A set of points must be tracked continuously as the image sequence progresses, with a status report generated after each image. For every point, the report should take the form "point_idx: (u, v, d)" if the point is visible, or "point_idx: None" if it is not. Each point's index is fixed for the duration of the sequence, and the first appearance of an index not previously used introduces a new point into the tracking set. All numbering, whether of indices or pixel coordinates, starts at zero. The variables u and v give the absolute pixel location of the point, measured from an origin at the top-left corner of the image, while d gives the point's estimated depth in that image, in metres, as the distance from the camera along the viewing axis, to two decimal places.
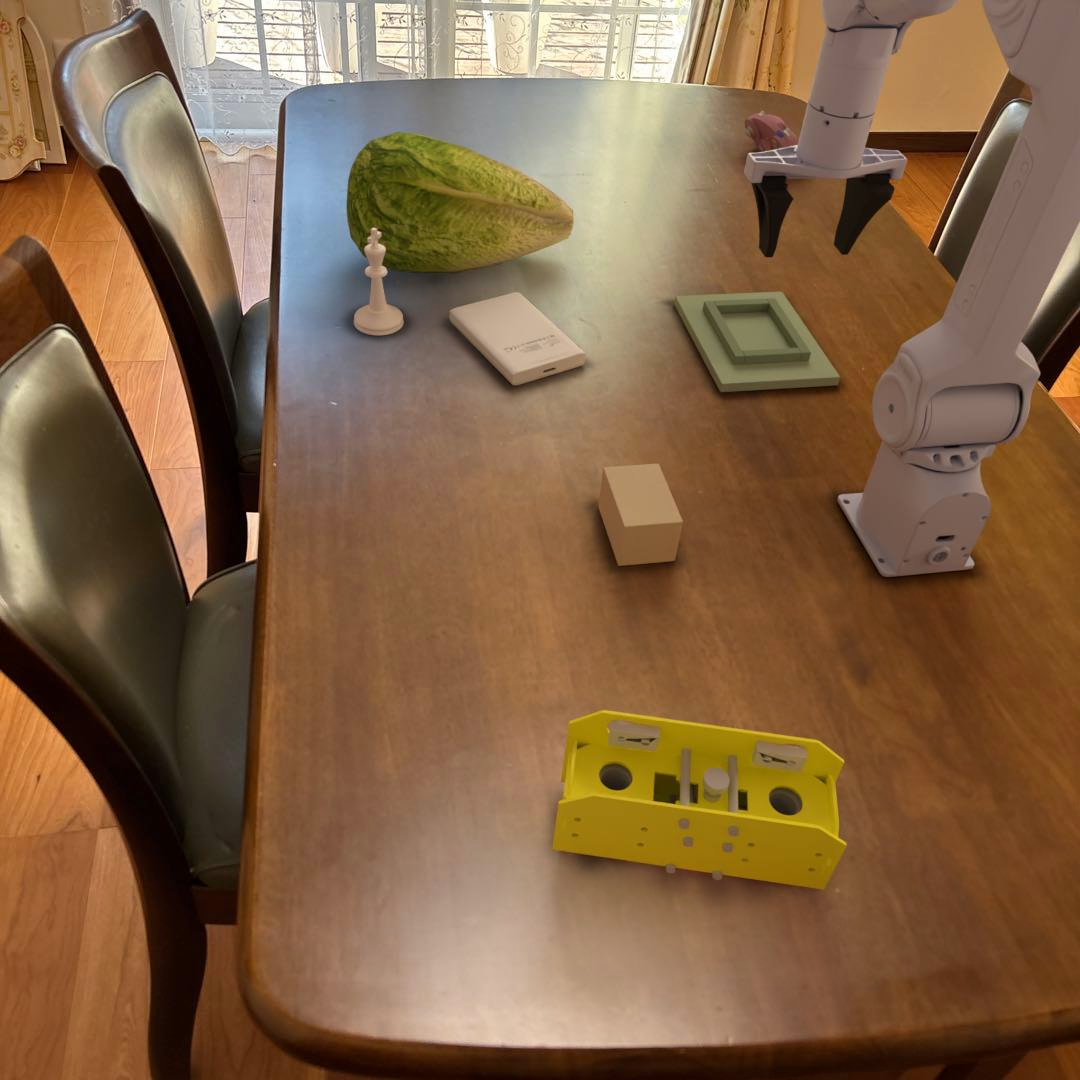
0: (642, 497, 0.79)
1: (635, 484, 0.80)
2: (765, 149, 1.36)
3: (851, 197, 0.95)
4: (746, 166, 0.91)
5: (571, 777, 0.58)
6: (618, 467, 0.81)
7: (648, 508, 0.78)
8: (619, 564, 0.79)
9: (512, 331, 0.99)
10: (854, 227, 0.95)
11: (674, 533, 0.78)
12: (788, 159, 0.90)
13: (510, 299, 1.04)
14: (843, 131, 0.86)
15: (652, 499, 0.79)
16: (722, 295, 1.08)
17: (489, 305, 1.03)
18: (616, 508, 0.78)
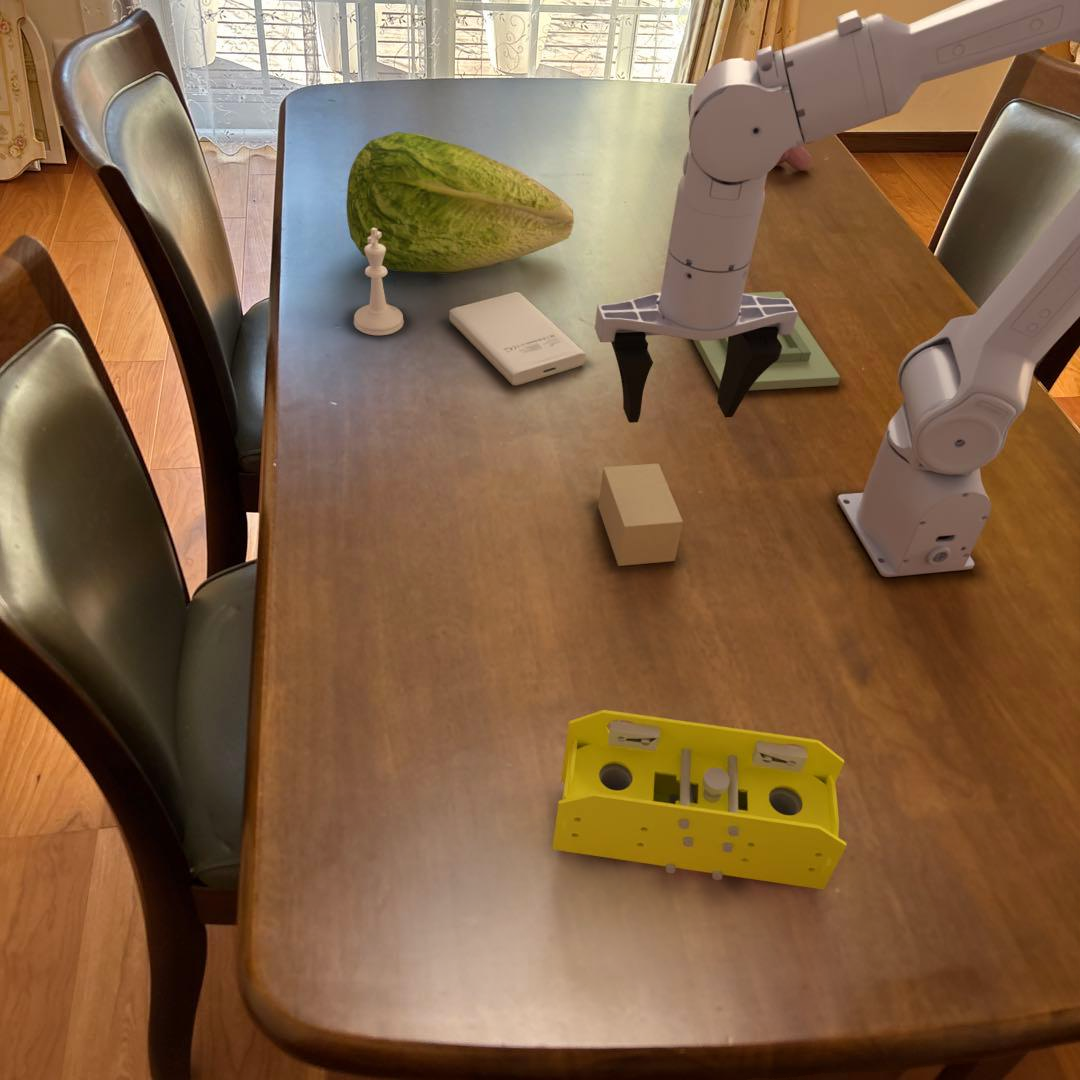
0: (642, 497, 0.79)
1: (635, 484, 0.80)
2: None
3: (733, 351, 0.77)
4: (596, 320, 0.73)
5: (571, 777, 0.58)
6: (618, 467, 0.81)
7: (648, 508, 0.78)
8: (619, 564, 0.79)
9: (512, 331, 0.99)
10: (737, 388, 0.77)
11: (674, 533, 0.78)
12: (647, 313, 0.72)
13: (510, 299, 1.04)
14: (709, 286, 0.69)
15: (652, 499, 0.79)
16: None
17: (489, 305, 1.03)
18: (616, 508, 0.78)
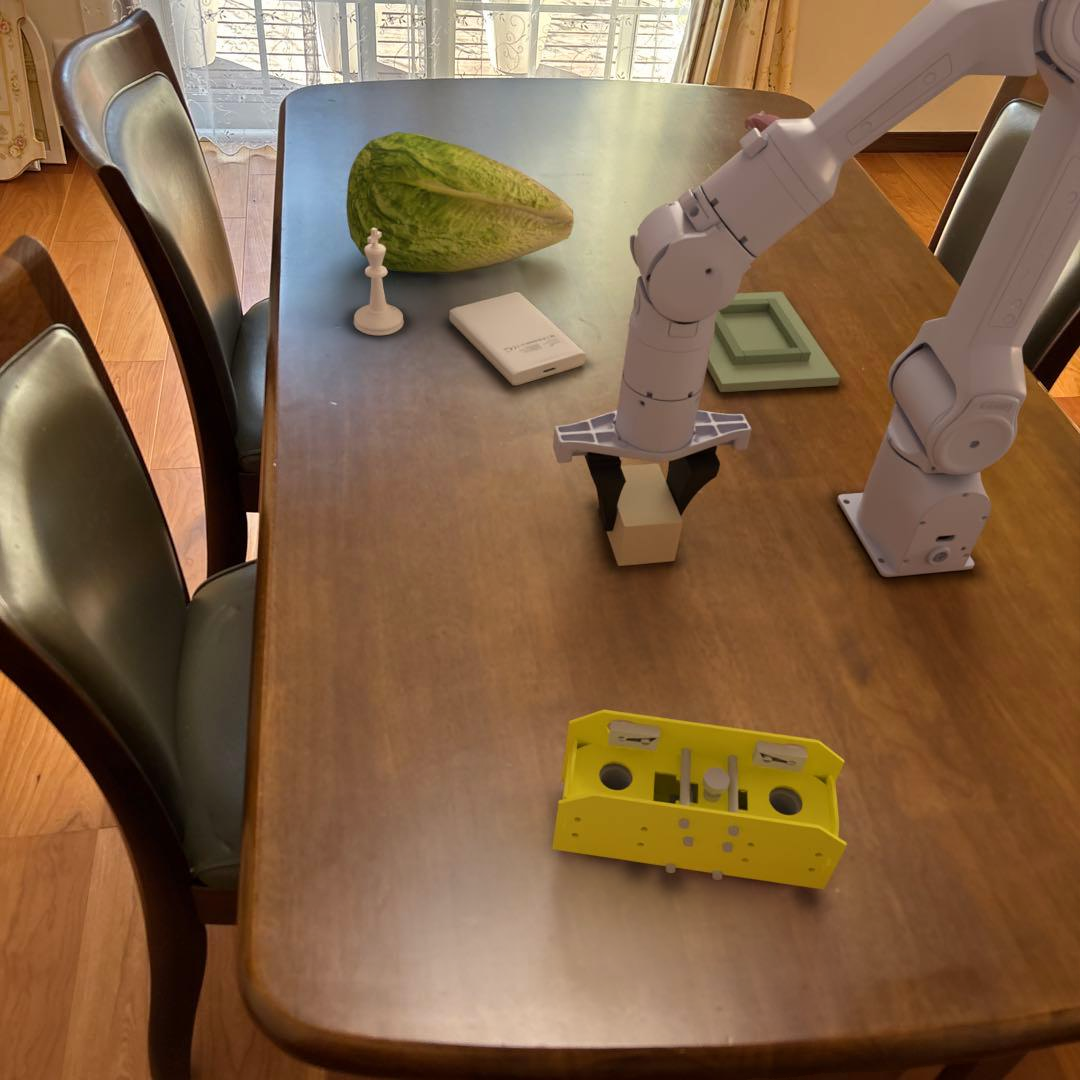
0: (642, 497, 0.79)
1: (635, 484, 0.80)
2: None
3: (674, 465, 0.78)
4: (554, 440, 0.75)
5: (571, 777, 0.58)
6: None
7: (648, 508, 0.78)
8: (619, 564, 0.79)
9: (512, 331, 0.99)
10: (678, 501, 0.78)
11: (674, 534, 0.78)
12: (603, 434, 0.74)
13: (510, 299, 1.04)
14: (662, 413, 0.70)
15: (651, 499, 0.79)
16: None
17: (489, 305, 1.03)
18: None
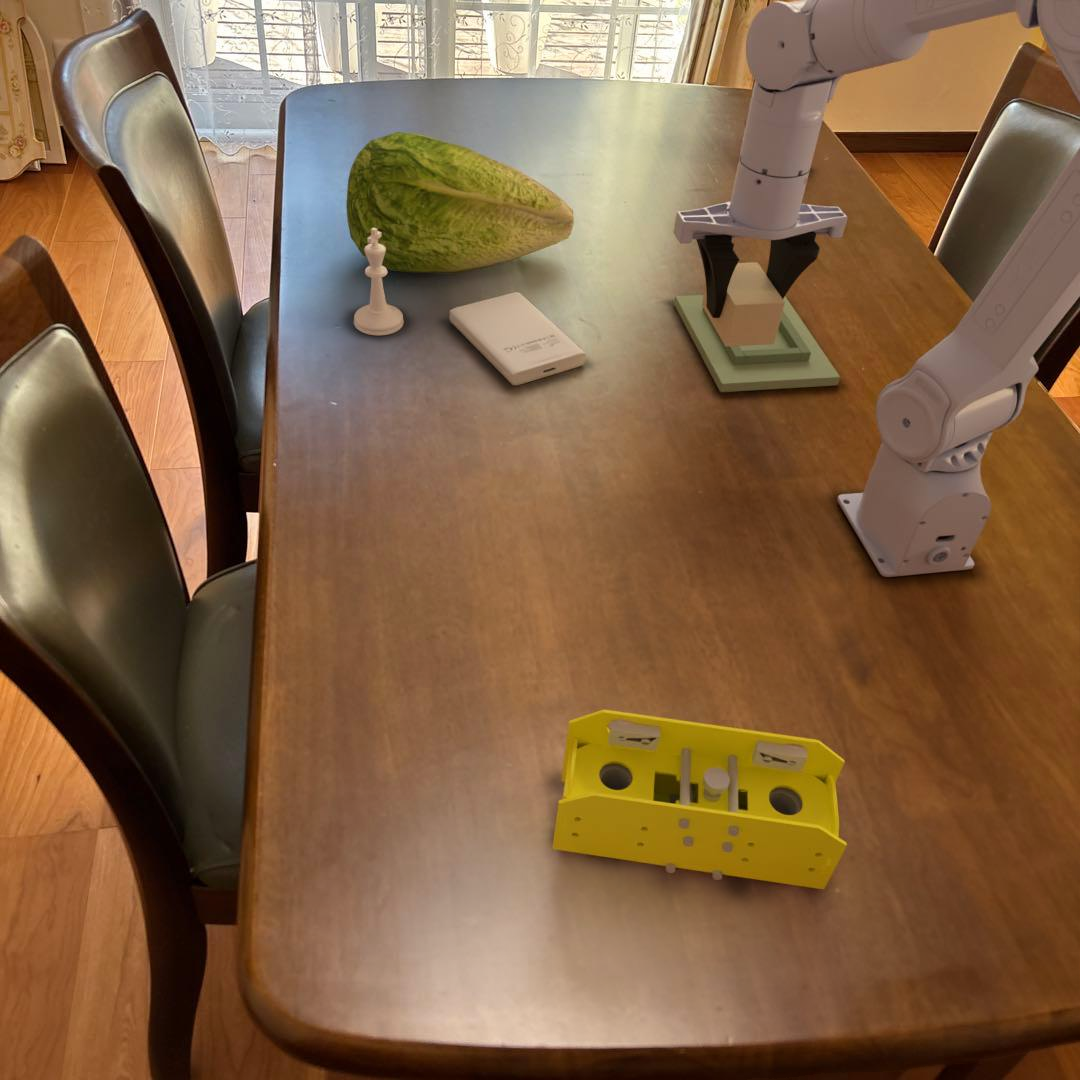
0: (747, 285, 0.89)
1: (739, 276, 0.90)
2: None
3: (776, 255, 0.89)
4: (675, 225, 0.85)
5: (571, 776, 0.58)
6: None
7: (753, 292, 0.88)
8: (726, 344, 0.90)
9: (512, 331, 0.99)
10: (779, 287, 0.89)
11: (776, 314, 0.88)
12: (720, 218, 0.85)
13: (510, 299, 1.04)
14: (776, 190, 0.81)
15: (755, 287, 0.89)
16: None
17: (489, 305, 1.03)
18: None
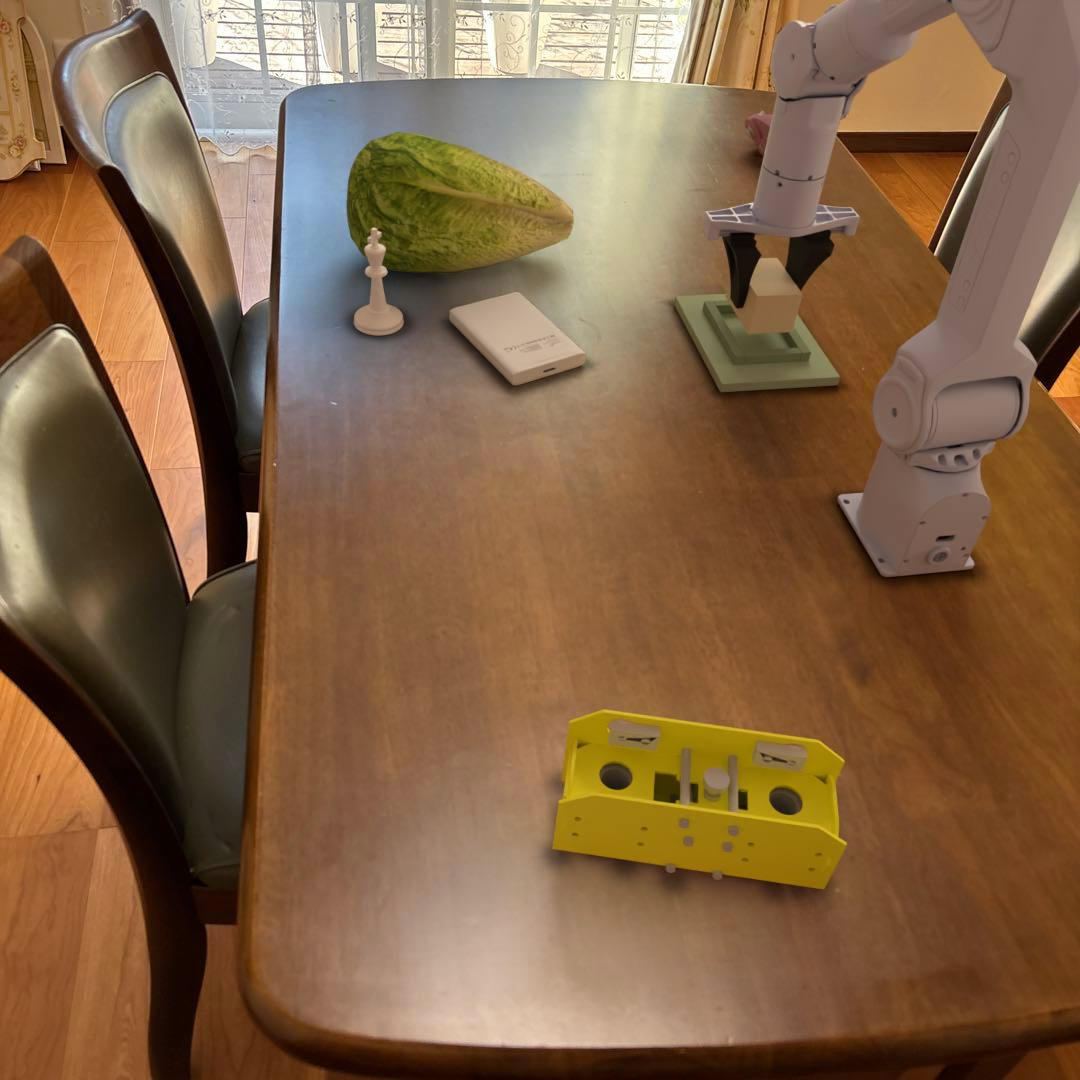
0: (768, 278, 0.98)
1: (760, 270, 0.99)
2: None
3: (794, 252, 0.98)
4: (703, 224, 0.94)
5: (571, 776, 0.58)
6: None
7: (773, 285, 0.97)
8: (749, 332, 0.98)
9: (512, 331, 0.99)
10: (797, 280, 0.98)
11: (794, 305, 0.97)
12: (744, 217, 0.93)
13: (510, 299, 1.04)
14: (795, 192, 0.90)
15: (775, 280, 0.98)
16: (722, 295, 1.08)
17: (489, 305, 1.03)
18: None
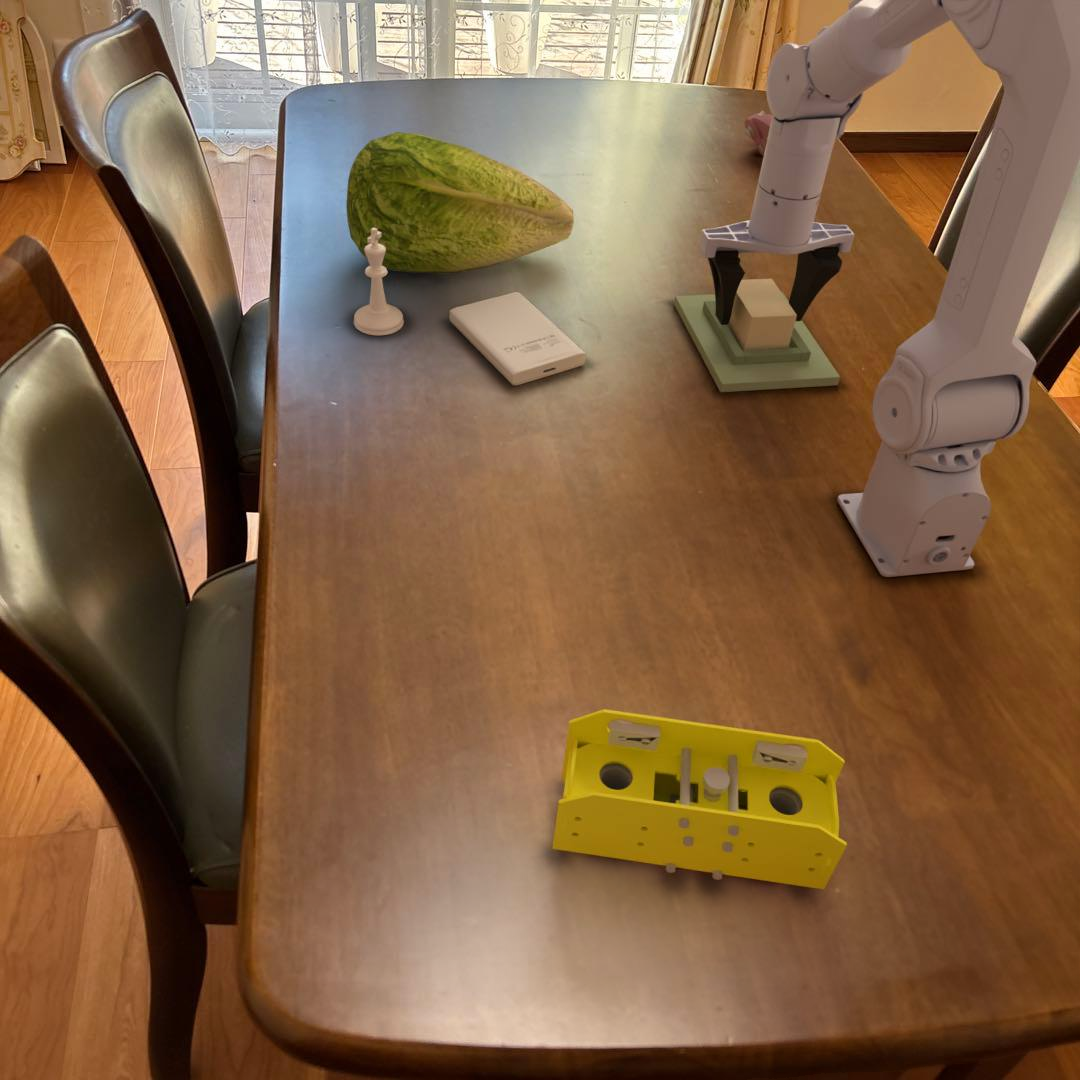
0: (763, 299, 1.00)
1: (756, 291, 1.01)
2: None
3: (802, 268, 0.99)
4: (700, 241, 0.95)
5: (571, 776, 0.58)
6: (741, 280, 1.02)
7: (768, 306, 0.99)
8: None
9: (512, 331, 0.99)
10: (805, 296, 0.99)
11: (789, 326, 0.99)
12: (740, 235, 0.95)
13: (510, 299, 1.04)
14: (791, 211, 0.91)
15: (770, 301, 1.00)
16: None
17: (489, 305, 1.03)
18: (743, 307, 0.99)
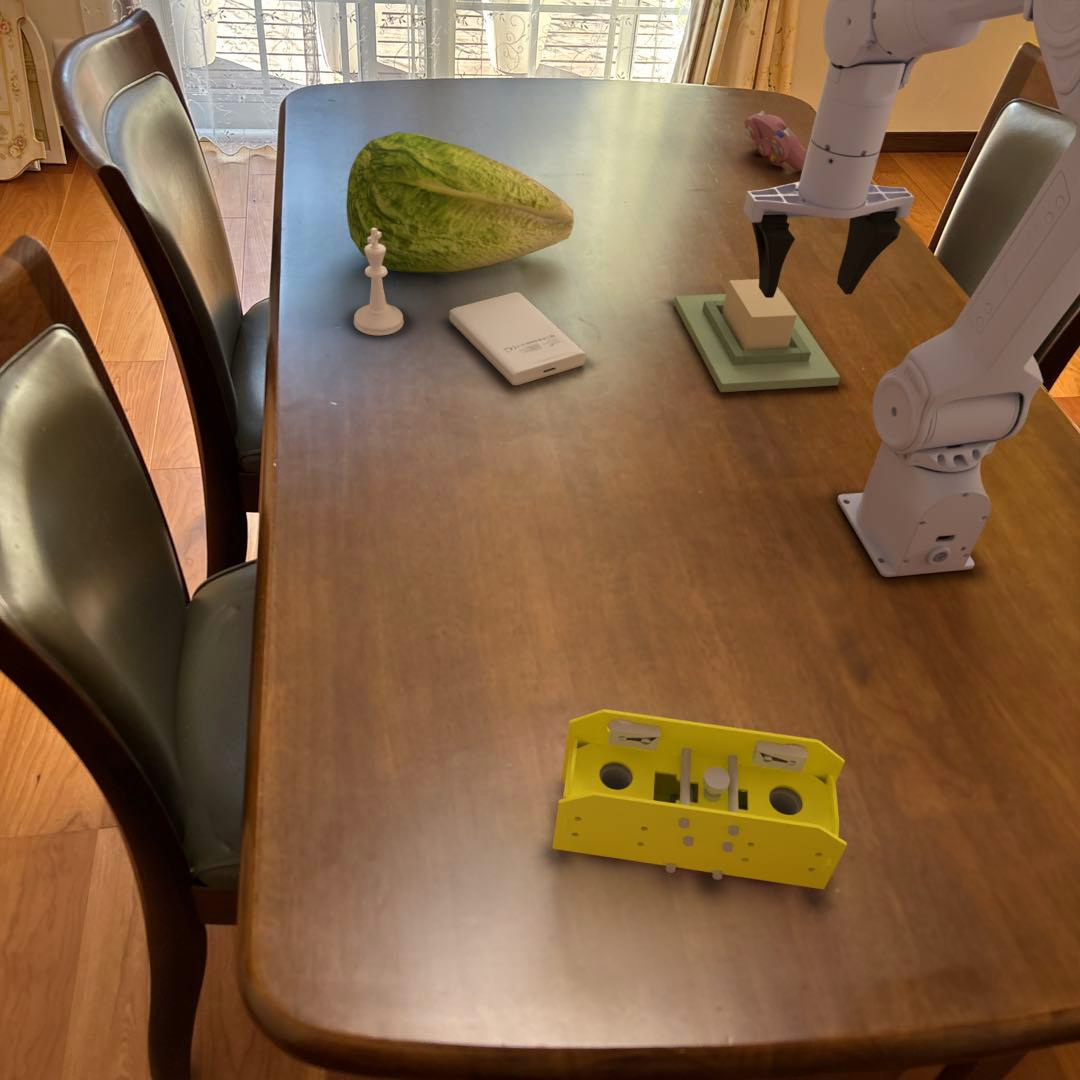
0: (763, 299, 1.00)
1: (756, 291, 1.01)
2: (765, 149, 1.36)
3: (855, 235, 0.91)
4: (745, 204, 0.87)
5: (571, 776, 0.58)
6: (741, 280, 1.02)
7: (768, 306, 0.99)
8: None
9: (512, 331, 0.99)
10: (858, 266, 0.91)
11: (789, 326, 0.99)
12: (789, 197, 0.86)
13: (510, 299, 1.04)
14: (848, 169, 0.82)
15: (770, 301, 1.00)
16: (722, 295, 1.08)
17: (489, 305, 1.03)
18: (743, 307, 0.99)
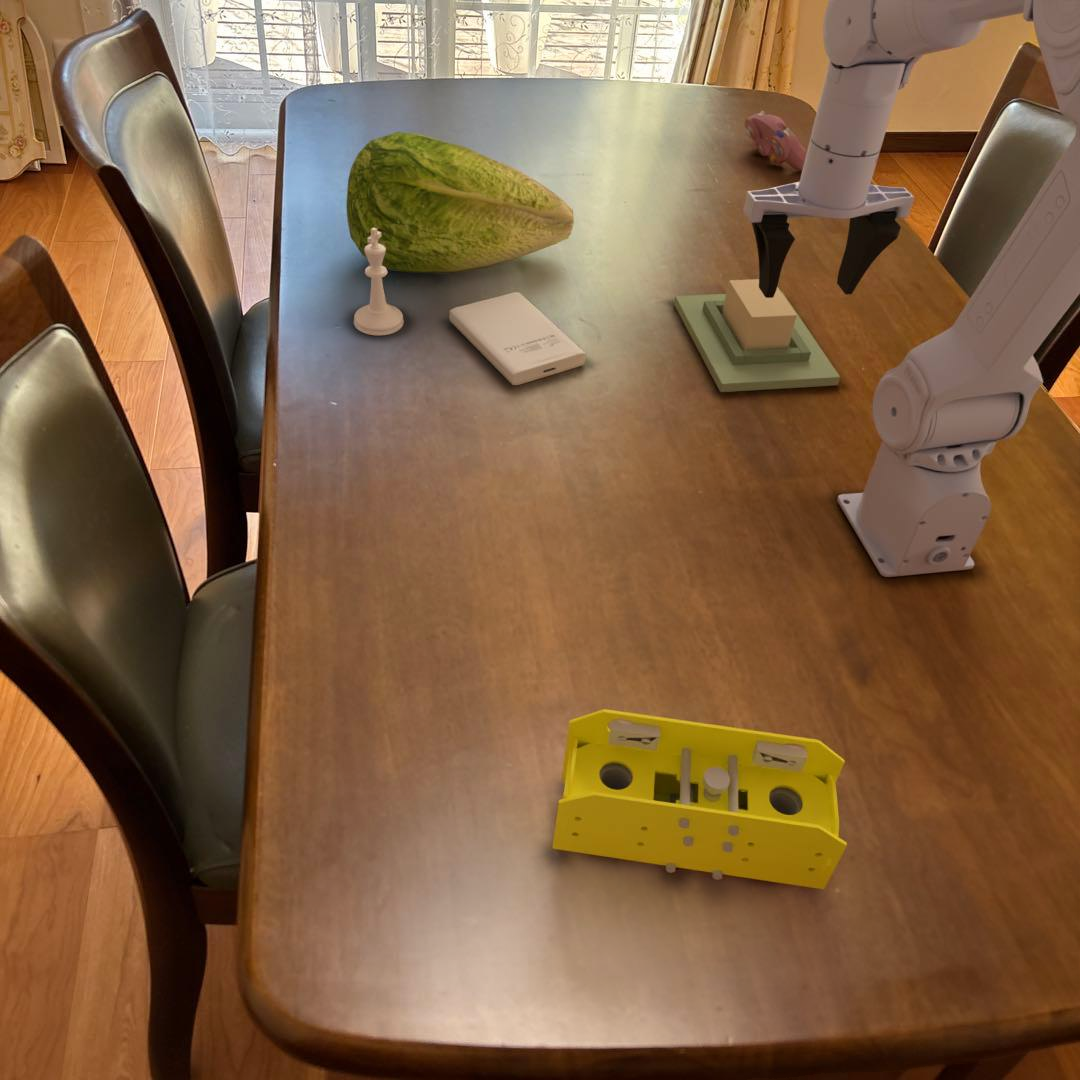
0: (763, 299, 1.00)
1: (756, 291, 1.01)
2: (765, 149, 1.36)
3: (855, 235, 0.91)
4: (745, 204, 0.87)
5: (571, 776, 0.58)
6: (741, 280, 1.02)
7: (768, 306, 0.99)
8: None
9: (512, 331, 0.99)
10: (858, 266, 0.91)
11: (789, 326, 0.99)
12: (789, 197, 0.86)
13: (510, 299, 1.04)
14: (848, 169, 0.82)
15: (770, 301, 1.00)
16: (722, 295, 1.08)
17: (489, 305, 1.03)
18: (743, 307, 0.99)
